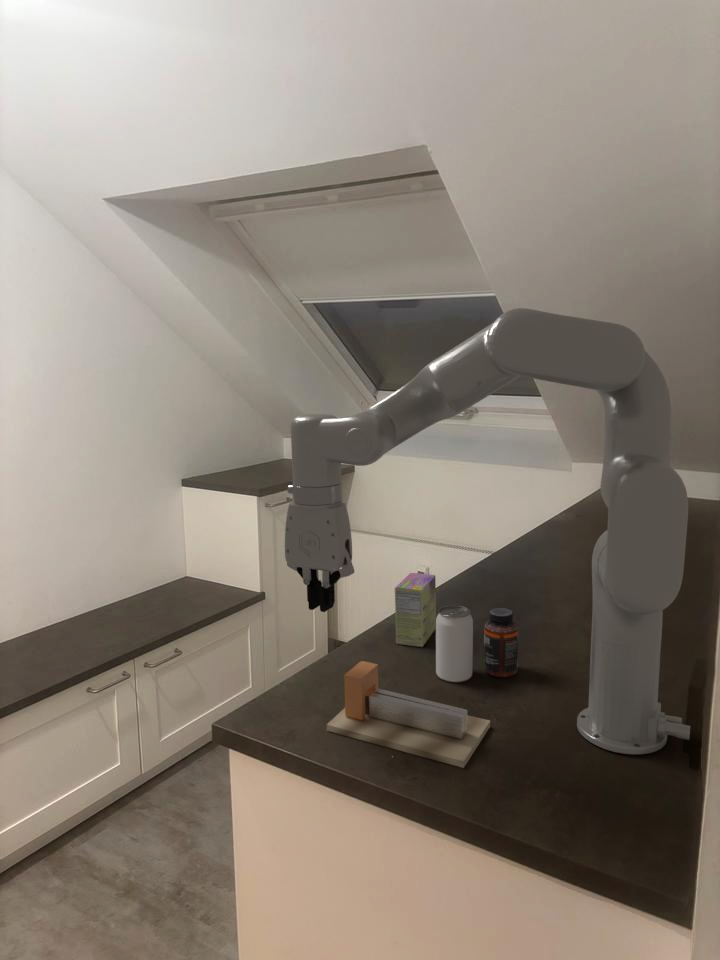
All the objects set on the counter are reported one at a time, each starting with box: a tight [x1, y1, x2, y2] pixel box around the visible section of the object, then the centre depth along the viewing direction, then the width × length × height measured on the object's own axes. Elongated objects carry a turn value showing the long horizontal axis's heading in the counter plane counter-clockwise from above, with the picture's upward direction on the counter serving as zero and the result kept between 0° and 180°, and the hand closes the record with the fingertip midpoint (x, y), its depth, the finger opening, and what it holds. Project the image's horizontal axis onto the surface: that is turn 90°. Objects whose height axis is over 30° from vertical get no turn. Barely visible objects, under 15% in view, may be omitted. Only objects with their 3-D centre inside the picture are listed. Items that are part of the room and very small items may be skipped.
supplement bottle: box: [483, 607, 519, 678], centre depth 122 cm, size 6×6×11 cm
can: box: [435, 605, 474, 683], centre depth 121 cm, size 6×6×12 cm
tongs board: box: [326, 696, 491, 769], centre depth 105 cm, size 22×12×4 cm, turn 62°
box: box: [394, 572, 437, 648], centre depth 139 cm, size 10×6×12 cm, turn 159°
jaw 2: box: [374, 687, 468, 735], centre depth 104 cm, size 15×1×3 cm, turn 61°
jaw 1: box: [369, 692, 464, 739], centre depth 103 cm, size 15×1×3 cm, turn 62°
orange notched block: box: [343, 660, 379, 720], centre depth 108 cm, size 3×6×7 cm, turn 152°
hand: (321, 607), depth 109 cm, fingers closed
